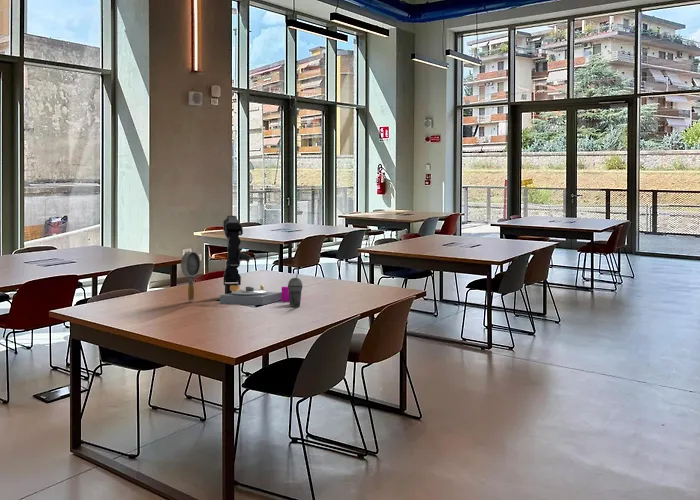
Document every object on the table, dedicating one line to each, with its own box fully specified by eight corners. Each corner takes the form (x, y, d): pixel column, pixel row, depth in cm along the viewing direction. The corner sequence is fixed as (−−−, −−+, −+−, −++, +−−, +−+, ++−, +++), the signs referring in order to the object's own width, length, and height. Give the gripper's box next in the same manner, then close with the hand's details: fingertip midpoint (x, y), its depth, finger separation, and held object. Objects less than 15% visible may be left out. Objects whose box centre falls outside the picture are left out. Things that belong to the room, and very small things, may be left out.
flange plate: (222, 294, 319) (222, 286, 319) (239, 291, 337) (239, 284, 336) (258, 295, 313) (258, 288, 313) (273, 292, 331) (273, 285, 331)
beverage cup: (287, 308, 317) (288, 268, 317) (302, 308, 318) (302, 268, 318) (287, 310, 310) (287, 268, 310) (302, 310, 311) (303, 268, 310)
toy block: (292, 302, 326) (292, 287, 326) (281, 301, 328) (281, 286, 328) (304, 299, 340) (304, 285, 340) (293, 298, 342) (293, 284, 342)
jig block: (220, 303, 318) (220, 295, 318) (241, 298, 340) (241, 291, 340) (262, 304, 311) (262, 296, 311) (281, 300, 333) (281, 292, 333)
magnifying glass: (195, 299, 337) (195, 251, 336) (200, 299, 336) (200, 251, 335) (181, 301, 324) (180, 252, 324) (186, 301, 323) (186, 252, 323)
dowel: (259, 292, 333) (259, 285, 333) (261, 292, 335) (261, 285, 335) (262, 292, 333) (262, 285, 333) (264, 292, 334) (264, 285, 334)
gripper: (250, 247, 313) (250, 279, 313) (249, 246, 331) (249, 277, 331) (227, 247, 310) (227, 280, 311) (227, 246, 329) (227, 277, 329)
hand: (233, 278), depth 321 cm, fingers open, 7 cm apart
